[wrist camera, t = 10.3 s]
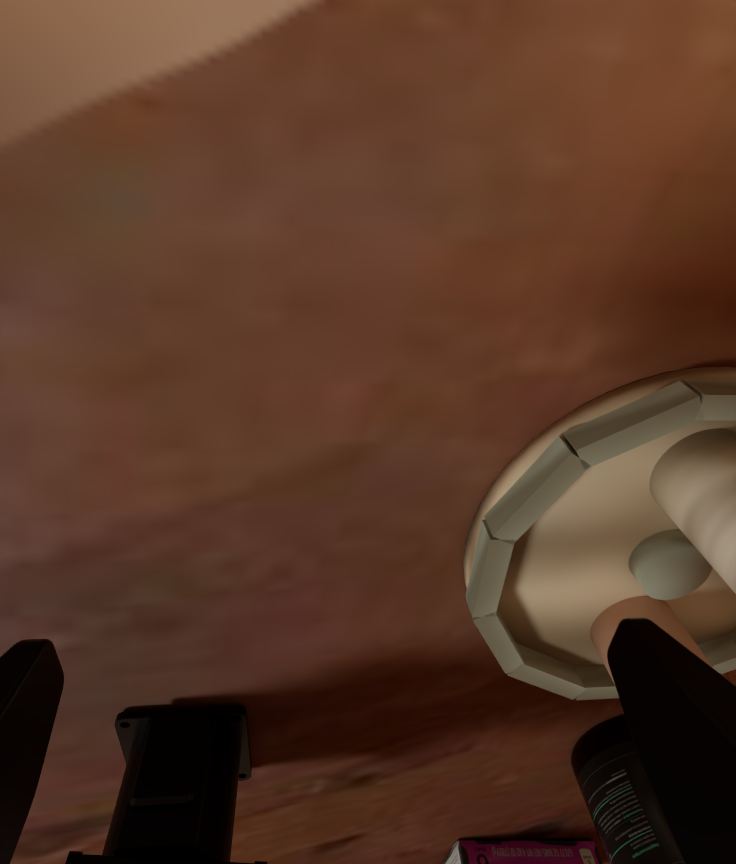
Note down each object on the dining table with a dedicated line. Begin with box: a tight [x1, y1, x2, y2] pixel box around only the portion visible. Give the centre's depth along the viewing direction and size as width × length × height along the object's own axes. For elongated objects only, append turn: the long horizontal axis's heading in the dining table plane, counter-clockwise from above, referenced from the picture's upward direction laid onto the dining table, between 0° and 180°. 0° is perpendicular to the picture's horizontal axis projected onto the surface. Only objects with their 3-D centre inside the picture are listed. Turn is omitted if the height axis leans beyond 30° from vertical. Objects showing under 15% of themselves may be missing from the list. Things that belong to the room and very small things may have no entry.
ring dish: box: [463, 366, 736, 700], centre depth 24 cm, size 17×17×2 cm
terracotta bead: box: [590, 596, 714, 684], centre depth 25 cm, size 4×4×5 cm
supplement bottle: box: [571, 716, 685, 864], centre depth 29 cm, size 7×7×12 cm
